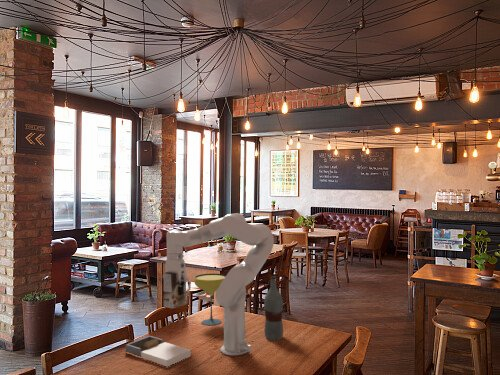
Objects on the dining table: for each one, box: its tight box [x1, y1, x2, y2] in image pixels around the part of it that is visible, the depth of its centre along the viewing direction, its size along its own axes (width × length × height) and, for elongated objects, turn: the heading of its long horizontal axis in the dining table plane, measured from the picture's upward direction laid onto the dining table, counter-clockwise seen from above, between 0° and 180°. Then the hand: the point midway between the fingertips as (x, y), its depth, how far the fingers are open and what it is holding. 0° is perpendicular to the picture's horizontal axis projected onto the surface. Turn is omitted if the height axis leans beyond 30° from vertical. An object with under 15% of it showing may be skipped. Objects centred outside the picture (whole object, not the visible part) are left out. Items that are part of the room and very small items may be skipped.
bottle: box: [263, 275, 284, 341], centre depth 208 cm, size 9×9×30 cm
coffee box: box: [163, 271, 187, 309], centre depth 202 cm, size 9×6×16 cm
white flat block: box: [141, 341, 192, 367], centre depth 184 cm, size 16×14×3 cm
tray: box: [125, 335, 164, 357], centre depth 192 cm, size 10×14×4 cm
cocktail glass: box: [193, 273, 227, 327], centre depth 232 cm, size 18×18×25 cm
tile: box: [139, 337, 159, 352], centre depth 191 cm, size 6×6×3 cm
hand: (175, 293), depth 202 cm, fingers closed on coffee box, 6 cm apart
